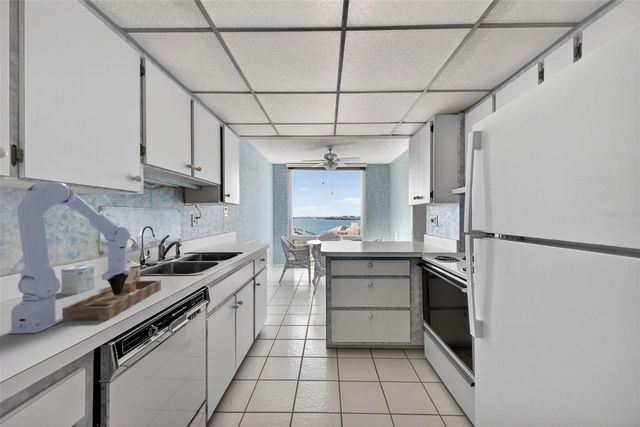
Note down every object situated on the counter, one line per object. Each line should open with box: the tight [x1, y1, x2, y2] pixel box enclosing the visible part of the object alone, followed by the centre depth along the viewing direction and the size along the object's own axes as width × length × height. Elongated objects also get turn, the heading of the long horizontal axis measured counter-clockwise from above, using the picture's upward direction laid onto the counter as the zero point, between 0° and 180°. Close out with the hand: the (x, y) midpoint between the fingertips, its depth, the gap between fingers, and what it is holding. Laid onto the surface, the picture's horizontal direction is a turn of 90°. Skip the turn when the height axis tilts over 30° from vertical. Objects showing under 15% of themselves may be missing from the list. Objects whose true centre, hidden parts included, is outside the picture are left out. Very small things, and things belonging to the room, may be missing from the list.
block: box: [121, 281, 136, 294], centre depth 116 cm, size 4×4×4 cm
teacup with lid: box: [124, 259, 141, 281], centre depth 139 cm, size 12×9×12 cm
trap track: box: [61, 280, 162, 322], centre depth 110 cm, size 36×14×4 cm, turn 5°
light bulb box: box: [60, 263, 95, 295], centre depth 126 cm, size 11×7×11 cm, turn 5°
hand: (117, 294), depth 109 cm, fingers closed
